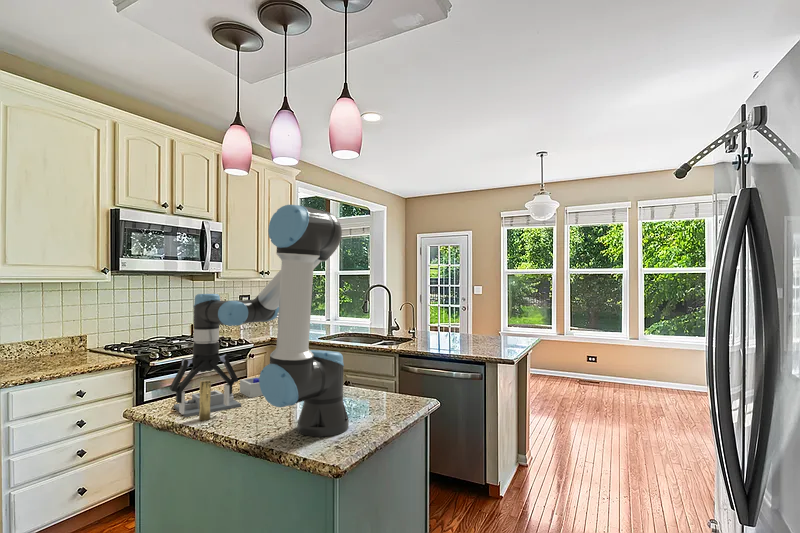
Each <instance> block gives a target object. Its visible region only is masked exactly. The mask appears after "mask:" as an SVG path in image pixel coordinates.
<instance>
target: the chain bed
mask: <svg viewBox="0 0 800 533" xmlns="http://www.w3.org/2000/svg"><path fill="white" fill-rule="evenodd" d="M199 402H200V392H196V393H192V394H191V399H188V400H185V408H184V414H181V415H183V417H185V418H189V417H194V416H199ZM241 407H242V404H241V402H238V401H237V400H235V397H234V393H233V392H232V394H229V406H226V405H225V404H224V392H221V391H219V390H211V401H210V413H213V412H215V413H216V412H219V411H225V410H230V409H231V410H232V409H235V408H241ZM173 409H175V410H176V411H178V412H179V403H175V404H173Z"/></svg>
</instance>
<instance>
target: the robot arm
mask: <svg viewBox="0 0 800 533" xmlns="http://www.w3.org/2000/svg"><path fill="white" fill-rule="evenodd" d="M267 232H268V238H269V239H270V242H271V244H273V246H275V247H276V252H275V254H276V255H277V257H278V258H279V259H280V260H281V261H280V262H281V264H280V265H281V266H280V270H279V271H278V272H277V273H276V275H275V276H274V277H273V278H271V280H270V281H269V282H268V284H266V285H265V287H264V288H263V289H261V292H260V293H259V294H258V295H257V296H255V298H253V299H240V300H239V299H238V300H237V299H236V300H221V297H220V295H219V294H218V293H198V294H196V295H195V296H194V302H193V304H194V305H193V338H192V341H193V342H194V343H193V344H192V346H193V348H192V349H193V350H192V358H191V359H190V358H189V359H188V358H187V359H186V358H182V359H181V365H180V367H179V369H178V371H177V373H176V375H175V377H174V379H173V381H171V382H172V383H171V384H170V386H169V390H170V391H171V392H175V402H176V404H179V411H178V412H179V413H180V414H181V415H182V414H184V408H185V401H186V400H185V399H186V397H185V396H186V394H185V393H186V392H185V391H184V390H185V388H186V387H187V386H188V385H189V384H190V382H191V381H192V380H193V378H195V376H196V375H198V374H199V372H200V373H204V372H212V371H215V372H216V374H218V376H220V377H221V378H222V380H223V381H225V382H226V383H224V384H223V385H224V386H223V387H224V388H223V394H224V404H225V405H226V406H229V394H232V393H233V386H234V384H235V383H237V382H238V381H239V378H238V376H237V375H236V372H235V370H234V368H233V366H232V364H231V363H230V358H229V355H228V354H226V353H225V354H223V355H221V356H220V355H219V354H220V353H219V352H220V343H219V342H218V341H219V340H220V325H221V326H228V327H232V326H233V327H238V326H241V325H243V324H244V325H245V324H249V323H250V324H251V323H265V322H269V321H273V320H275V319H276V318H277V336H276V347H275V349H274V350H273V351H272V352H270V354H269V355H270V356H269V364H267V365H265V366H264V367H263V368H262V370H261V371H260V372H259V376H258V377H259V385H260V389H261V392H262V394H263V395H262V396H263V397H264V399H265V400H266V402H267V403H269V404H270V405H271V406H274V407H276V408H284V407H285V408H286V407H292V406H294V405H296V404H298V403H301V402H303V405H302V407H301V411H300V412H299V418H298V420H297V428H296V429H297V432H298V433H299V434H302V435H304V436H308V437H319V438H321V437H331V436H335V435H339V434H342V433H344V432H346V431H347V430H348V429H349V417H348V414H347V409H346V406H345V404H344V367H345V364H344V356H343V354H342V353H341V352H339V351H334V350H333V351H332V350H319V349H310V348H309V347H310V346H309V345H310V344H309V343H310V330H311V313H312V312H311V311H312V300H313V299H312V297H313V294H312V293H313V284H314V283H313V279H314V276H313V275H314V269H316V267H318V265H319V264H320V263H322V262H326V261H328V260H329V258H330V257H331V256H333V254H334V253H335V252H336V250H337V249H338V247H339V246H340V243H341V241H342V235H343V230H342V226H341V223H340V221H339V219H338V218H337V217H336V216H335V215H334V214H332V213H331V212H330V211H326V210H322V209H321V210H320V209H317V208H314V207H308V206H305V205H299V204H285V205H282V206H280V207H279V208H277V209H276V211H275V212H273V215H272V216H271V218H270V220H269V224H268V230H267ZM220 361H221V362H222V363H223V364H224V367H225V368H226V371H227V372H228V375H229V376H228V375H227V374H226V373H225V372H224V371H223V370H222V369H221V367H220V366H219V365H218V364H219V362H220ZM191 364H192V365H193V367H192V368H191V369H190V371H189V372H188V373H187V375H186V376H185V377H184V375H185V373H186V372H187V369H188V367H190V365H191ZM182 379H183V380H182Z"/></svg>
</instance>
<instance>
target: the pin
mask: <svg viewBox="0 0 800 533" xmlns="http://www.w3.org/2000/svg"><path fill="white" fill-rule="evenodd" d="M211 388H212V381H211V380H210V379H203V380H200V381H199V393H200V402H199V415H198V417H199V418H198V420H199V421H200V420H202V422H203V421H204V420H206V421H209V420H211V412H210V401H211V391H212V390H211Z"/></svg>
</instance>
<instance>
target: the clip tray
mask: <svg viewBox="0 0 800 533" xmlns="http://www.w3.org/2000/svg"><path fill="white" fill-rule="evenodd" d="M256 378H257V379H259V376H255V377H250V378H243V379H242V378H241V379H240V380H239V393H240V394H242V395H244V396H246V397H248V398H255V397H261V396H263V394H262V392H261V389H260V385H259V382H258V383H253V379H256Z"/></svg>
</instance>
